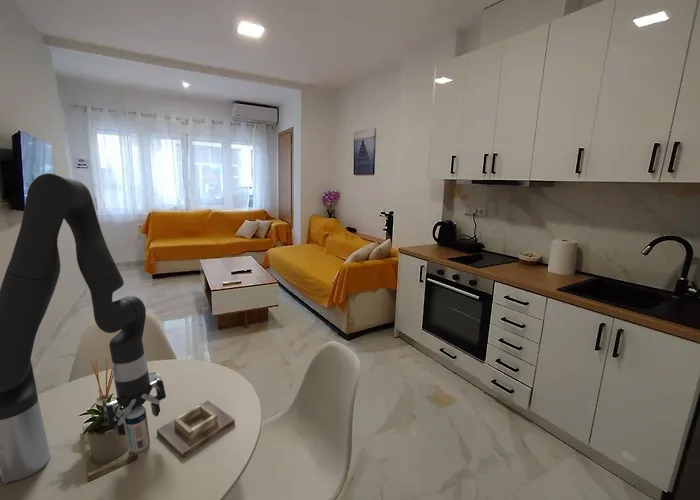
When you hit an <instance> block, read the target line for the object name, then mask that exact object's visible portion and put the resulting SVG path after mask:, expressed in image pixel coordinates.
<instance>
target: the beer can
mask: <svg viewBox="0 0 700 500" xmlns="http://www.w3.org/2000/svg"><path fill="white" fill-rule="evenodd" d="M124 423H125V430H126V435H127V436H126V437H127V442H128V443H127V444H128V449H129V448H130V449H129V451H130V450H131V451H130V452H131V453H139V452H142V451H144V450H146V449H147V448H148V447H149V445H150V443H151V439H150V432H149V425H148V417H147V409H146V407H145V406H144V404H142V405H139V406H137V407H136V408H135V409H133V410H132V409H131V410H130V412H129V414H128V415H127V416H126V417H125V419H124Z"/></svg>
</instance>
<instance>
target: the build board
mask: <svg viewBox="0 0 700 500" xmlns="http://www.w3.org/2000/svg"><path fill="white" fill-rule="evenodd" d="M235 423H236V420H235V419H234V418H233V417H232V416H230V415H229V414H228V413H227V412H225V411H223V410H222V409H221V408H219V407H218V406H217V405H215V404H214V403H212V402H211V401H209V400H206V401H204V402H202V403H199V404H197V405H196V406H194V407H191V408H190V409H188V410H187V411H185V412H184V413H182V414H180V415H179V416H176V417H175V418H173V420H171V421H170V422H167V423H166V424H165V425H162V426H161V427H159V428H157V429H156V434H157V436H159V438H161V439H162V440H163V441H164V442H165V443H166V444H167V445H168V446H169V447H170V448H171V449H172V450H173V451H174V452H175V453H176V454H177V455H178V456H179V457H180V458H182V459H185V458H186V457H189V455H191V454H192V453H194V452H195V451H196V450H198V449H199V448H201V447H202V446H204V445H206V444H207V443H209V441H211V440H213V439H214V438H216V437H217V436H219V435H220V434H222V433H223V432H225V431H227V429H229V428H231V427H232V426H233V425H235Z"/></svg>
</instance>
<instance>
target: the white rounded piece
mask: <svg viewBox="0 0 700 500" xmlns="http://www.w3.org/2000/svg"><path fill="white" fill-rule="evenodd" d="M148 373H149V380H150V383H151V382H153V381H154V379H155V378H159V379H160V380H162V376H161V375H160V373H158V372H157V371H156V370H153V371H150V372H148Z"/></svg>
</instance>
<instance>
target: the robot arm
mask: <svg viewBox="0 0 700 500" xmlns="http://www.w3.org/2000/svg"><path fill="white" fill-rule="evenodd" d="M26 193H27V194H26V197H25V202H24V208H23V213H22V220H21V223H20V224H21V225H20V228H19V232H18V235H17V238H16V241H15V244H14V248H13V251H12V253H11V257H10V260H9V263H8V266H7V267H6V270H5V273H4V277H3V279H2V282H1V286H0V479H1V480H2V484H3V485H7V484H8V482H9V483H11V481H12V482H15V481H20V480H23V479H25V478H28V477H30V476H32V475H34V474H36V473H38V472H39V471H40V470H42V468H44V467H45V466H46V465H47V464H48V462H49V461H50V459H51V452H50V451H51V450H50V447H49V443H48V438H47V433H46V428H45V425H44V419H43V415H42V410H41V409H42V408H41V405H40V401H39V396H38V391H37V383H36V379H35V375H34V369H33V365H32V360H31V359H32V353H33V348H34V344H35V340H36V335H37V333H38V331H39V328H40V326H41V323H42V321H43V319H44V317H45V315H46V313H47V310H48V308H49V305H50V303H51V301H52V300H51V299H52V297H53V295H54V293H55V289H56V287H57V284H58V280H59V277H60V274H61V258H60V252H59V247H58V240H59V239H58V238H59V234H60V230H61V228H62V224H63V221H65V223H66V224H67V225H68V227H69V228H70V231H71V233H72V236H73V239H74V244H75V252H76V253H75V256H76V261H77V265H78V269H79V270H80V273H81V275H82V277H83V279H84V282H85V284H86V285H87V287H88V290H89V292H90V296H91V302H92V310H93V318H94V321H95V325H96V326H97V327H98V329H99V330H101V331H102V332H104V333H108V334H112V333H116V332H118V333H117V334H115V336H113V337H112V338H111V339H110V341H109V344H108V345H109V351H110V357H111V364H112V366H111V369H112V378H113V382H114V385H115V391H116V399H115V400H112V401H110V402H109V401H105V402H104V403H103V404H102V406H103V418H104V423H105V425H106V426H108V427H109V428H113V427H114V428H115V427H116V428H115V430H116V429H117V432H116V433H117V434H118V435H119V436H122V437H124V436H125V435H127V432H126V427H125V424H124V423H125V417H126V416H127V415H128V414H129V412H130V410H131V409H132V410H133V409H135V408H136V407H137V406H139V405H144V404H145V402H146V401H148V402H150V408H151V414H152V415H153V416H154V417H158V416H159V415H160V412H161V406H160V402H161V401H162V400H165V398H166V397H167V395H166V394H167V393H166V390H165V385H164V380H162V379H161V380H160V379H159V378H155V379H154V381H153V382H151V383H150V380H149V373H150V372H149V369H148V361H147V358H146V354H145V348H144V343H143V337H144V329H145V323H146V319H147V310H146V306H145V303H144V302H143V300H141V299H140V298H139V297H137V296H135V295H128V296H125V297H123V298H120V299H117V300H115V301H113V295H114V292H117V291H118V290H119V289H121V288H122V287H123V286H124V285H125V282H124V279H123V276H122V274H121V273H120V271H119V269H118V267H117V264H116V263H115V260H114V258H113V256H112V253H111V251H110V249H109V247H108V245H107V243H106V239H105V237H104V235H103V231H102V228H101V225H100V222H99V219H98V216H97V212H96V209H95V205H94V201H93V200H94V199H93V197H92V194H91V192H90V190H89V188H88V187H87V186H86V185H85V183H83V182H82V181H79V180H77V179H74V178H72V177H69V176H68V177H67V176H65V175H61V174H57V173H53V172H48V173H43V174H41V175H38V176H37V177H35V179H33V181H31V183H30V185H29V186H28V190H27V192H26ZM153 388H154V389H155V390H156V394H157V395H155V396H153V395H151V392H152V390H153ZM117 406H118V407H117ZM116 408H117V410H116ZM115 411H116V414H114V412H115ZM114 415H115V416H114ZM6 483H7V484H6Z"/></svg>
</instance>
